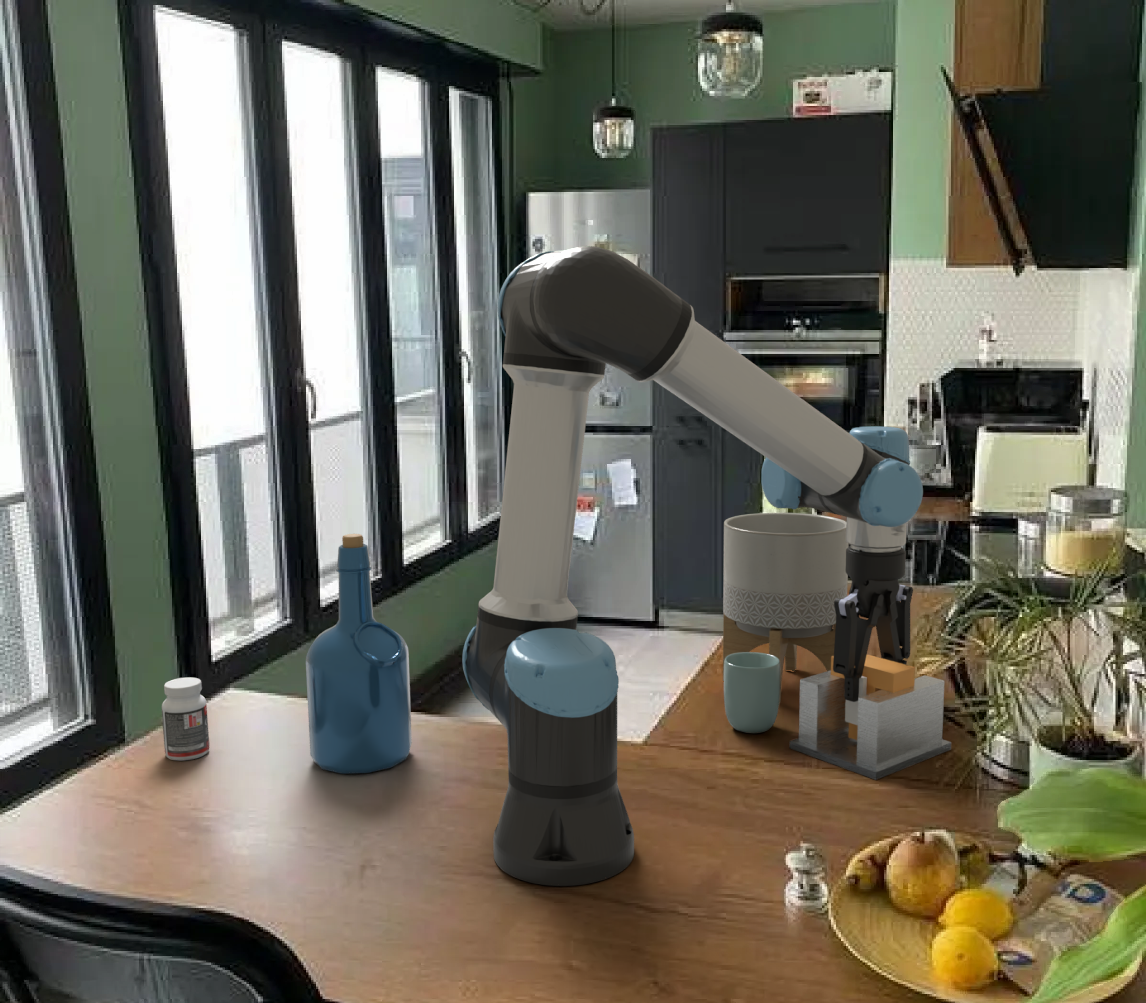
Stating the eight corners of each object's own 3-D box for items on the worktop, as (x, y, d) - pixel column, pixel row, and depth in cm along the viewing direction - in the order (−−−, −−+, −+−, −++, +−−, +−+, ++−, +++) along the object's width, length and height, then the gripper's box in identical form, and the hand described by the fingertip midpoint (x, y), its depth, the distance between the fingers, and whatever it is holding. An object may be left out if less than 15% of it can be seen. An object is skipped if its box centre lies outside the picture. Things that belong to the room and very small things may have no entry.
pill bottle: (217, 753, 152) (213, 682, 151) (178, 765, 148) (173, 692, 147) (196, 743, 156) (191, 673, 155) (157, 754, 152) (152, 683, 151)
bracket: (875, 780, 141) (878, 706, 139) (789, 748, 152) (790, 679, 150) (951, 749, 151) (953, 680, 149) (864, 721, 161) (866, 657, 160)
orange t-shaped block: (891, 752, 146) (893, 673, 144) (829, 731, 153) (831, 656, 152) (912, 744, 148) (915, 667, 147) (850, 724, 156) (852, 650, 155)
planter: (838, 710, 166) (842, 536, 162) (711, 698, 172) (712, 530, 168) (850, 673, 184) (854, 515, 180) (734, 663, 190) (736, 510, 186)
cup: (778, 740, 155) (779, 669, 153) (721, 736, 156) (721, 666, 155) (780, 720, 162) (781, 653, 161) (725, 717, 164) (725, 650, 162)
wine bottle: (290, 759, 150) (279, 536, 145) (371, 733, 159) (363, 522, 155) (352, 787, 140) (342, 549, 136) (435, 757, 150) (428, 534, 145)
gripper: (853, 560, 138) (848, 742, 142) (943, 541, 150) (937, 709, 153) (805, 551, 144) (801, 726, 148) (896, 533, 156) (890, 696, 159)
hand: (870, 717), depth 150 cm, fingers open, 6 cm apart
